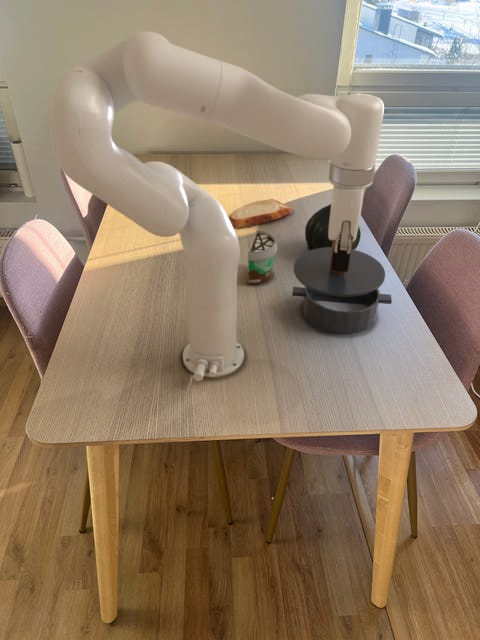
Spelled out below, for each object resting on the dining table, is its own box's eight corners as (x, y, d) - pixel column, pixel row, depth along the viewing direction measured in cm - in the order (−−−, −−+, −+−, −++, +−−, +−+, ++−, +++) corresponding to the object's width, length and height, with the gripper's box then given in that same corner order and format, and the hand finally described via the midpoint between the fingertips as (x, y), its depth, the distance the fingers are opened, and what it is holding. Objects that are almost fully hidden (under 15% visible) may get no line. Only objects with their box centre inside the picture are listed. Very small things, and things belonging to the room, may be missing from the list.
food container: (271, 290, 127) (273, 255, 121) (247, 288, 128) (248, 252, 122) (278, 265, 136) (280, 231, 130) (255, 263, 137) (257, 229, 131)
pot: (390, 340, 112) (396, 316, 108) (289, 331, 114) (291, 307, 110) (383, 297, 125) (388, 275, 121) (293, 290, 127) (294, 268, 123)
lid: (387, 303, 93) (394, 267, 88) (289, 295, 95) (292, 259, 90) (381, 255, 107) (387, 221, 102) (296, 248, 109) (299, 215, 104)
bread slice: (225, 227, 154) (225, 215, 152) (239, 202, 168) (239, 191, 166) (284, 234, 151) (285, 222, 148) (294, 208, 165) (295, 197, 162)
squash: (307, 252, 131) (348, 207, 127) (287, 228, 143) (324, 186, 139) (342, 279, 139) (381, 237, 134) (320, 254, 150) (356, 214, 146)
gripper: (330, 155, 96) (321, 242, 107) (328, 190, 82) (318, 286, 94) (371, 157, 95) (358, 245, 106) (376, 193, 81) (360, 289, 93)
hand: (339, 263), depth 99 cm, fingers closed on lid, 3 cm apart
